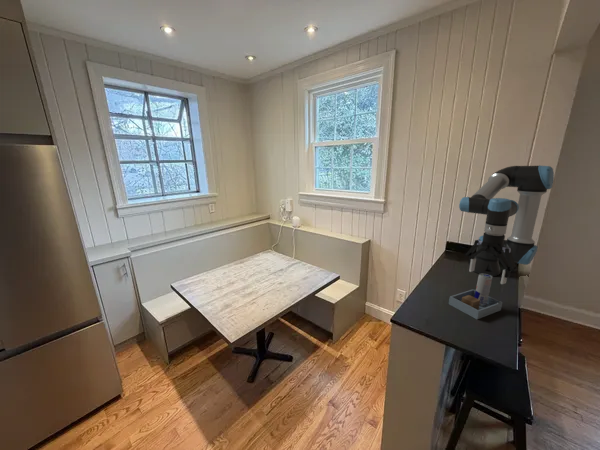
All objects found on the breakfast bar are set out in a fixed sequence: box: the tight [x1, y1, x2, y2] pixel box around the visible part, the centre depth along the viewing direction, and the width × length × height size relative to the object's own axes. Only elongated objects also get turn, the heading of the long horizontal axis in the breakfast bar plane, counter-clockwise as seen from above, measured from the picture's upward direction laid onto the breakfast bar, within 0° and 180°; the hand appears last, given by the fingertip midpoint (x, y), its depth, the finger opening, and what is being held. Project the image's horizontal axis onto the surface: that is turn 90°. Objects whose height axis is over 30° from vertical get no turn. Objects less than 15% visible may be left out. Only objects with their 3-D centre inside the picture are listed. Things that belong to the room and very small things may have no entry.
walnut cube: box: [461, 295, 480, 310], centre depth 112 cm, size 5×5×5 cm
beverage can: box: [474, 273, 493, 306], centre depth 114 cm, size 5×5×15 cm
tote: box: [448, 288, 503, 320], centre depth 114 cm, size 17×13×4 cm
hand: (486, 277), depth 113 cm, fingers open, 13 cm apart
